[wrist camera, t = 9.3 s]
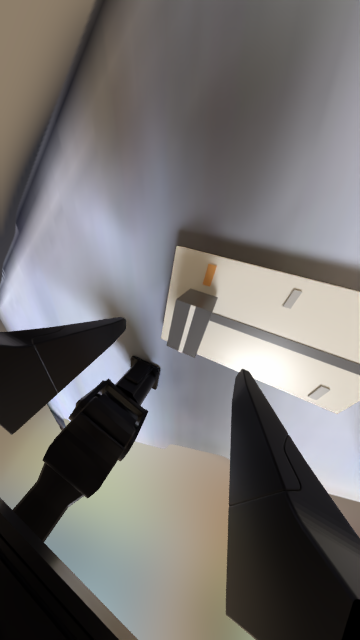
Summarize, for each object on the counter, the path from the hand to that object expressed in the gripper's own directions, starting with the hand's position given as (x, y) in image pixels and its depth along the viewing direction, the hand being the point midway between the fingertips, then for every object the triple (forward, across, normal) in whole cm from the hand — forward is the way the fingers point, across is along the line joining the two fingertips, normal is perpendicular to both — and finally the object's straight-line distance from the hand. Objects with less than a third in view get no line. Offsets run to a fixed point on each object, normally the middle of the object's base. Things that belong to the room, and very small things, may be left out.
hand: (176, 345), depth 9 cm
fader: (+6, 0, 0) cm, 6 cm away
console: (+9, -7, 0) cm, 11 cm away
